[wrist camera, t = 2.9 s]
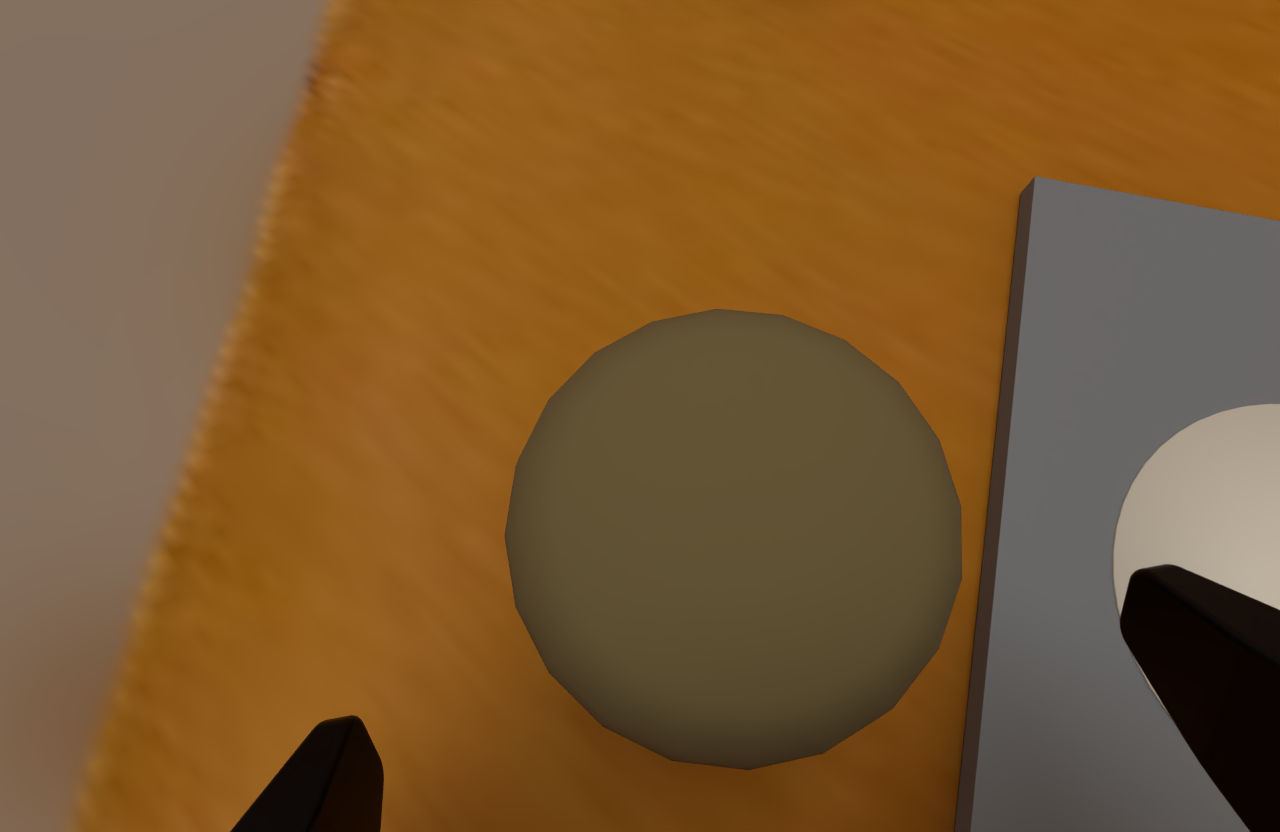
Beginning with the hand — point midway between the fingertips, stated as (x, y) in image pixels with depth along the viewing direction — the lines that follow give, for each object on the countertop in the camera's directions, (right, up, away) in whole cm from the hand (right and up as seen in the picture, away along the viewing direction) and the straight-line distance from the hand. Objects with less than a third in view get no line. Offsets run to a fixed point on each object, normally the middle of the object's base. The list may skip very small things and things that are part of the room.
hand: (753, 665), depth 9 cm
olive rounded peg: (0, -1, +9) cm, 9 cm away
